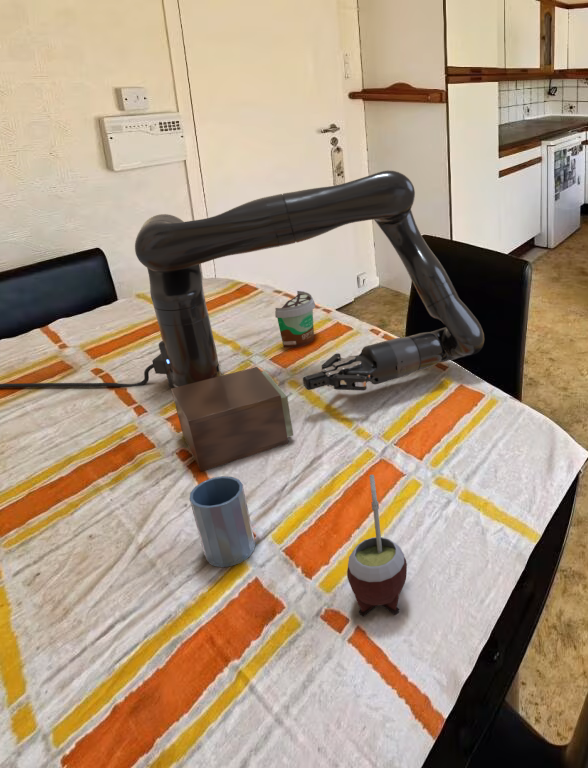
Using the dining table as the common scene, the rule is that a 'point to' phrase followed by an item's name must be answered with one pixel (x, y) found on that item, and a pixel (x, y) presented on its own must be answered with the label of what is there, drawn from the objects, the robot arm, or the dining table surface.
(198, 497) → the cup
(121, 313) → the dining table surface
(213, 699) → the dining table surface
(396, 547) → the mate gourd
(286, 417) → the drawer
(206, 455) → the cabinet
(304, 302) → the food container
